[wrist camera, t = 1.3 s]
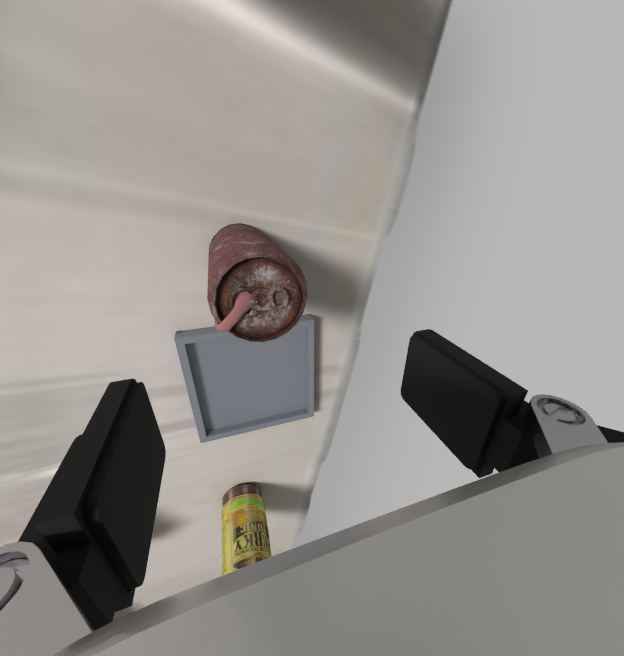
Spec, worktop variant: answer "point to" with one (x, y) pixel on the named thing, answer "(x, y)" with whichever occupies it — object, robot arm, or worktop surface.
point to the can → (253, 285)
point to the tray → (247, 379)
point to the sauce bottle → (243, 528)
